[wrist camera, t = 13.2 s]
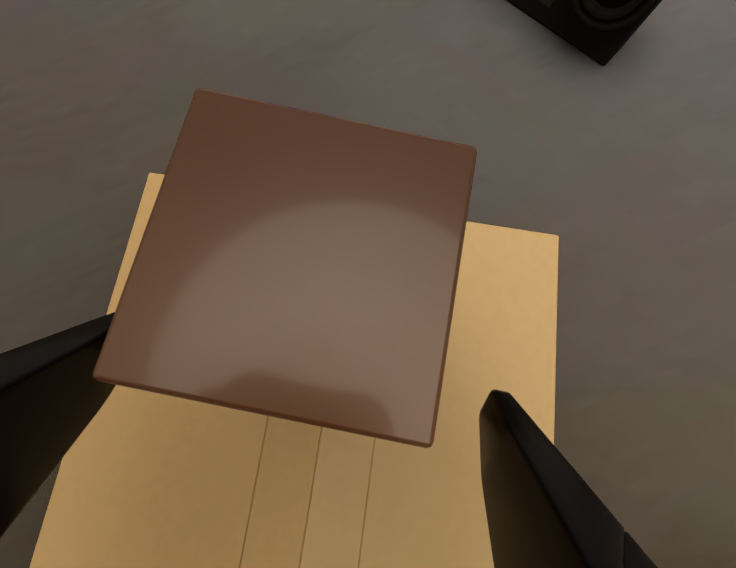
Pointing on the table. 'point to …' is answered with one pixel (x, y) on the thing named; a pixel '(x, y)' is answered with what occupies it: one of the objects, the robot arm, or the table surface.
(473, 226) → the pad
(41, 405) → the robot arm
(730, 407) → the table surface
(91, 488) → the pad
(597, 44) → the digital camera
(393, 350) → the peg
